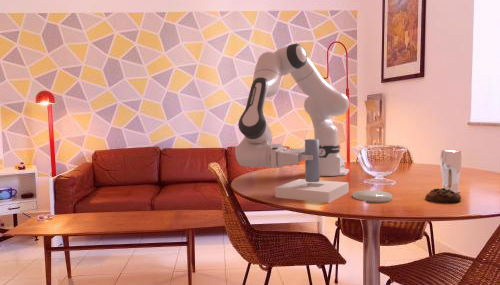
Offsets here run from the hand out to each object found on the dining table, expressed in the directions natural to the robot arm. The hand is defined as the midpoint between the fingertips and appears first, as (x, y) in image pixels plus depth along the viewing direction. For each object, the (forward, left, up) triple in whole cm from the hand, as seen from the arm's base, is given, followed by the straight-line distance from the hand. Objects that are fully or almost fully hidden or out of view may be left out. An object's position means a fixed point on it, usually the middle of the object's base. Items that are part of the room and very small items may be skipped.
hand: (314, 156), depth 146 cm
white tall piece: (-29, +41, -15) cm, 52 cm away
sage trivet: (-5, +19, -14) cm, 25 cm away
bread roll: (-13, +41, -15) cm, 45 cm away
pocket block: (0, -1, -14) cm, 14 cm away
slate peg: (0, -1, -9) cm, 9 cm away
